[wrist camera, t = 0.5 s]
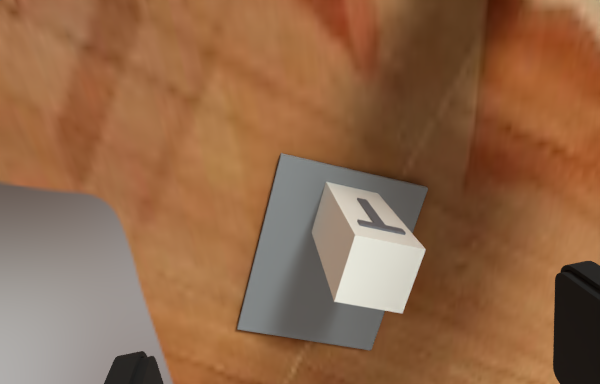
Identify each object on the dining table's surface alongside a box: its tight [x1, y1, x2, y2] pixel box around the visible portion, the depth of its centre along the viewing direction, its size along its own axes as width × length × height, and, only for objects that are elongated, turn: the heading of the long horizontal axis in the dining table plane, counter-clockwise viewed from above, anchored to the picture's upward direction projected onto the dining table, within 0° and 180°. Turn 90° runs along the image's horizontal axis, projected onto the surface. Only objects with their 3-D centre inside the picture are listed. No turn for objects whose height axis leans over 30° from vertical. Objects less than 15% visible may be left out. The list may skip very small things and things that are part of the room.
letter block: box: [312, 182, 426, 313], centre depth 36 cm, size 5×5×12 cm
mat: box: [237, 153, 428, 350], centre depth 43 cm, size 18×14×1 cm
